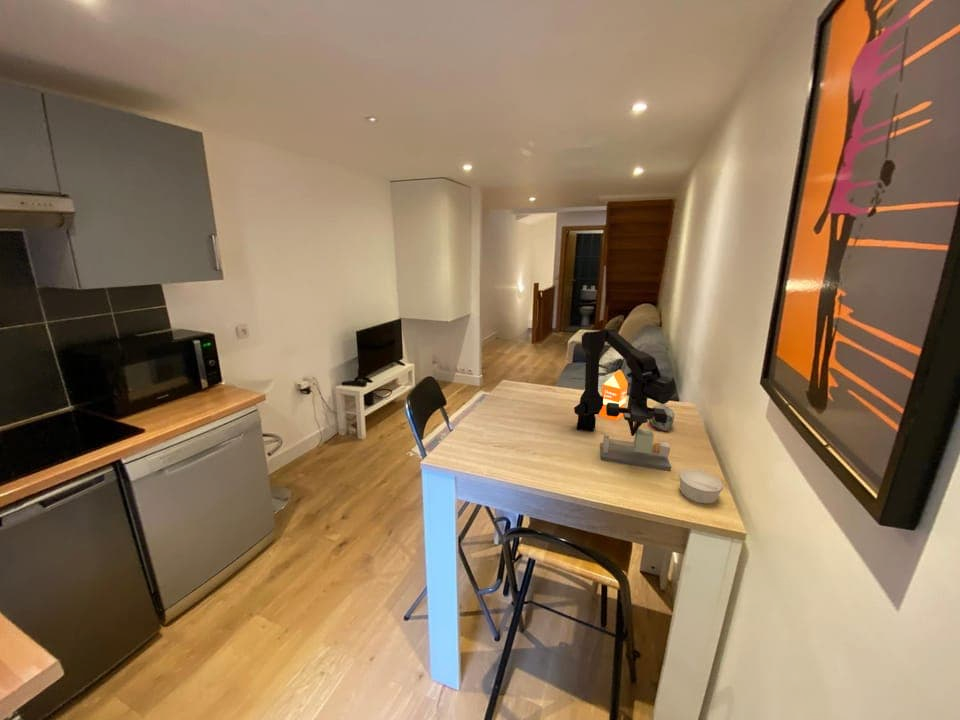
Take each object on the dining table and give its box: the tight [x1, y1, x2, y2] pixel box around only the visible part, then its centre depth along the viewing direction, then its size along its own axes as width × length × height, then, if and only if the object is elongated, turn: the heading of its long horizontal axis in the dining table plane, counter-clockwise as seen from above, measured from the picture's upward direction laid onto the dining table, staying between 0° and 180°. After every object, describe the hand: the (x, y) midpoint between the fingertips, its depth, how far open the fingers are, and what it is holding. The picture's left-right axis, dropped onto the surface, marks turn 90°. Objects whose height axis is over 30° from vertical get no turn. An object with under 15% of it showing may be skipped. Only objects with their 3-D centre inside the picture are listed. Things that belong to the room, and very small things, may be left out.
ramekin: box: [679, 468, 724, 505], centre depth 112 cm, size 11×11×5 cm
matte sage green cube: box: [633, 428, 655, 454], centre depth 129 cm, size 5×5×6 cm
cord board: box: [599, 433, 672, 472], centre depth 130 cm, size 22×10×7 cm, turn 74°
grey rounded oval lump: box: [649, 403, 675, 432], centre depth 155 cm, size 14×10×10 cm
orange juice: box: [598, 369, 629, 422], centre depth 162 cm, size 8×9×20 cm
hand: (632, 435), depth 129 cm, fingers closed
